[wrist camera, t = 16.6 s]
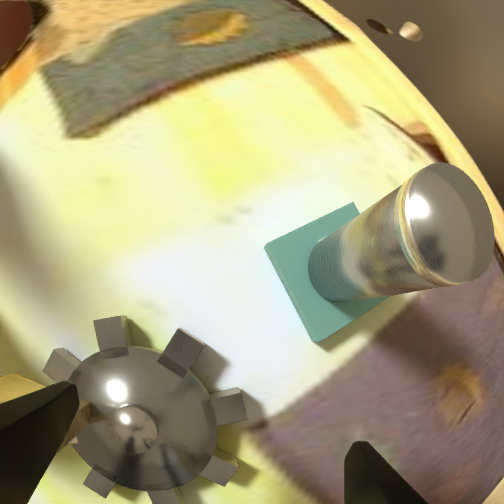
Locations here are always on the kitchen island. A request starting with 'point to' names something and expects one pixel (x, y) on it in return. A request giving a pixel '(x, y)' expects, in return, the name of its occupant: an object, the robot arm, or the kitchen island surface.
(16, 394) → the sprocket
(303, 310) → the pad
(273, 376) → the kitchen island surface
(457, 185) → the roller
